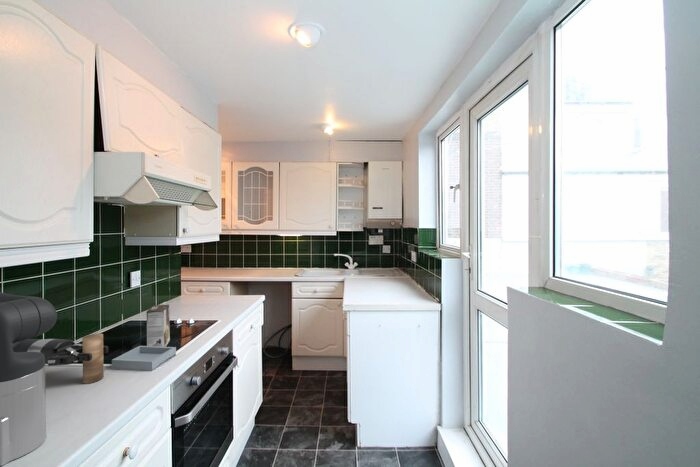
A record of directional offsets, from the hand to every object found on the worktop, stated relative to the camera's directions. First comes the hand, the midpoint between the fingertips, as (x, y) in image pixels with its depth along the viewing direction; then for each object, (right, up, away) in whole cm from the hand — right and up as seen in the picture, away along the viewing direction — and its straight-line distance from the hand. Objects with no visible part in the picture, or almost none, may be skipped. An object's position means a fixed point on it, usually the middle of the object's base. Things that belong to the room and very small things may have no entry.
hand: (99, 353), depth 92 cm
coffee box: (+1, -8, +27) cm, 28 cm away
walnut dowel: (-2, -8, 0) cm, 9 cm away
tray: (+6, -8, +13) cm, 16 cm away
